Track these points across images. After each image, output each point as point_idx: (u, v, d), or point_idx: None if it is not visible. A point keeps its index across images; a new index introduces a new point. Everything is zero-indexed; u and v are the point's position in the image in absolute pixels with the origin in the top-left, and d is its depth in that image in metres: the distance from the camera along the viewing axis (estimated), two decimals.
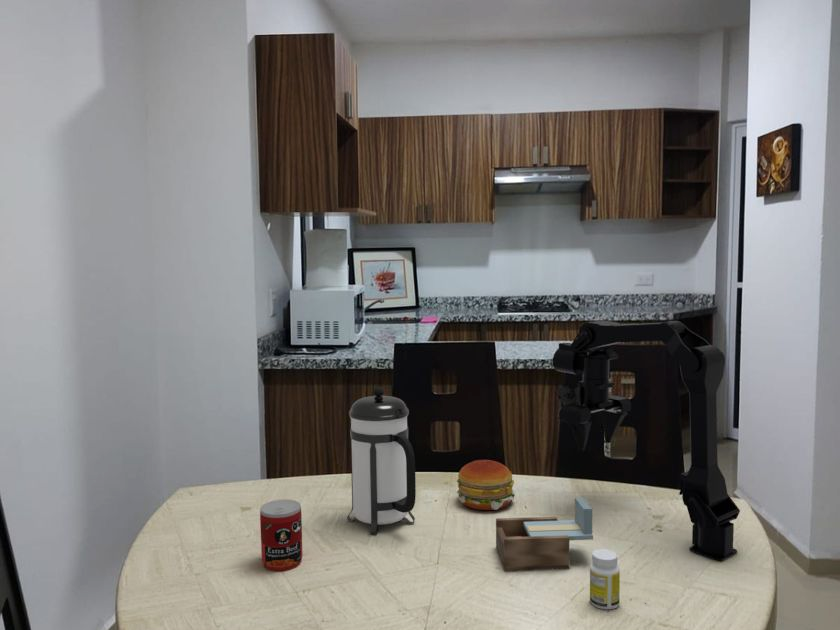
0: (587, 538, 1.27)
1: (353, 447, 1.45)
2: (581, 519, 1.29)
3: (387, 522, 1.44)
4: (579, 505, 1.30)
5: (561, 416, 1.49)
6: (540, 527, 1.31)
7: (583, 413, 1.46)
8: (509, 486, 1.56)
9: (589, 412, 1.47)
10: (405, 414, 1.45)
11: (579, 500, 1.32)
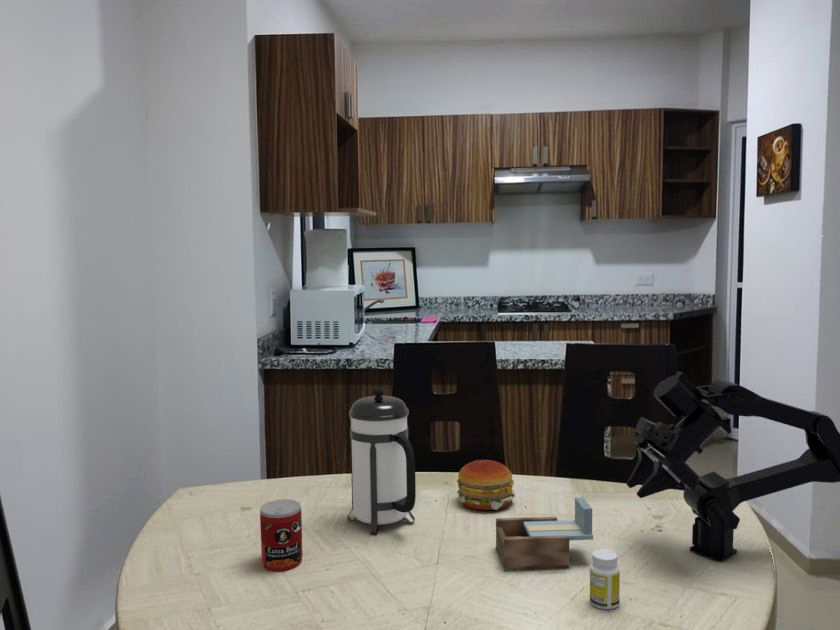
0: (587, 538, 1.27)
1: (353, 447, 1.45)
2: (581, 519, 1.29)
3: (387, 522, 1.44)
4: (579, 505, 1.30)
5: (676, 471, 1.21)
6: (540, 527, 1.31)
7: None
8: (509, 486, 1.56)
9: None
10: (405, 414, 1.45)
11: (579, 500, 1.32)
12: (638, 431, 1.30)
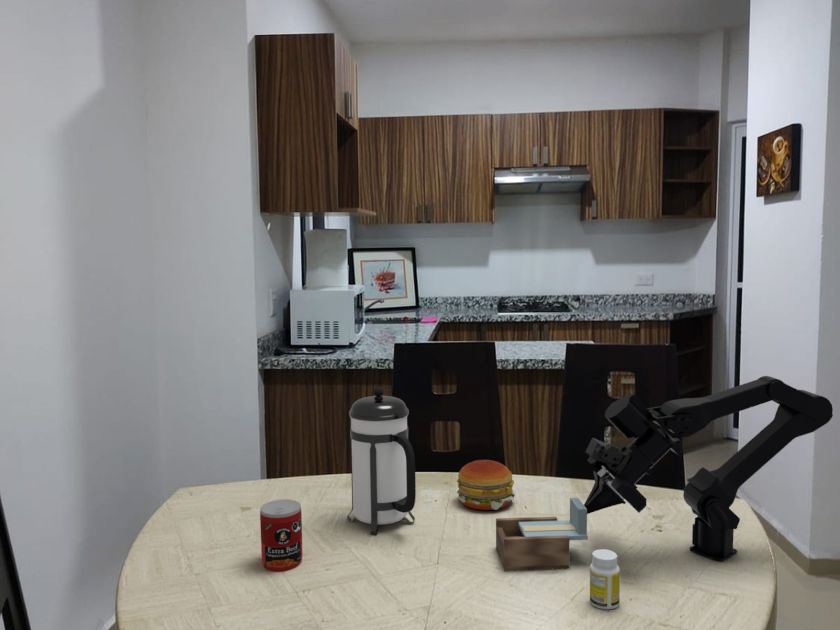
0: (582, 538, 1.27)
1: (353, 447, 1.45)
2: (576, 519, 1.29)
3: (387, 522, 1.44)
4: (574, 505, 1.30)
5: (624, 493, 1.21)
6: (535, 527, 1.31)
7: None
8: (509, 486, 1.56)
9: None
10: (405, 414, 1.45)
11: (574, 500, 1.32)
12: (589, 452, 1.29)
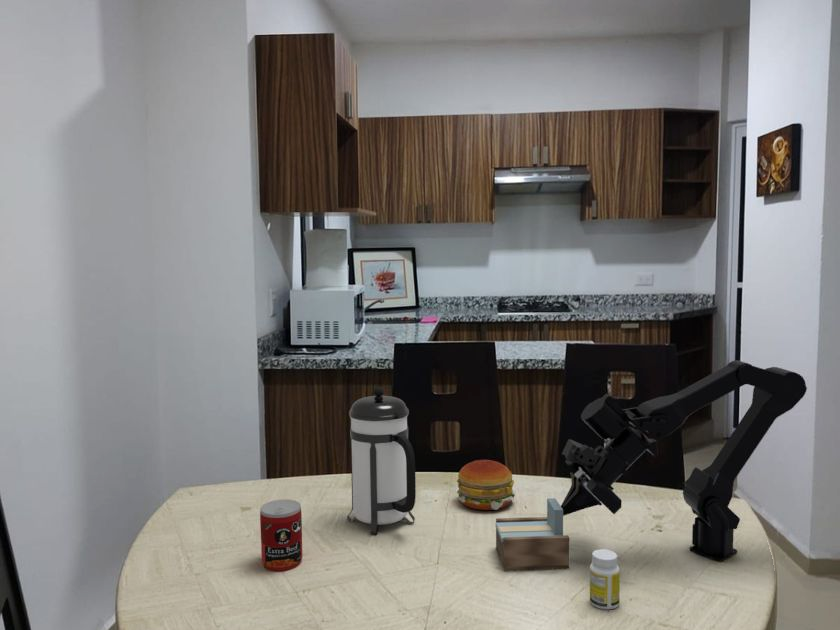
0: None
1: (353, 447, 1.45)
2: (552, 520, 1.29)
3: (387, 522, 1.44)
4: (550, 506, 1.30)
5: (598, 495, 1.21)
6: (512, 528, 1.30)
7: None
8: (509, 486, 1.56)
9: None
10: (405, 414, 1.45)
11: (551, 501, 1.32)
12: (565, 453, 1.29)
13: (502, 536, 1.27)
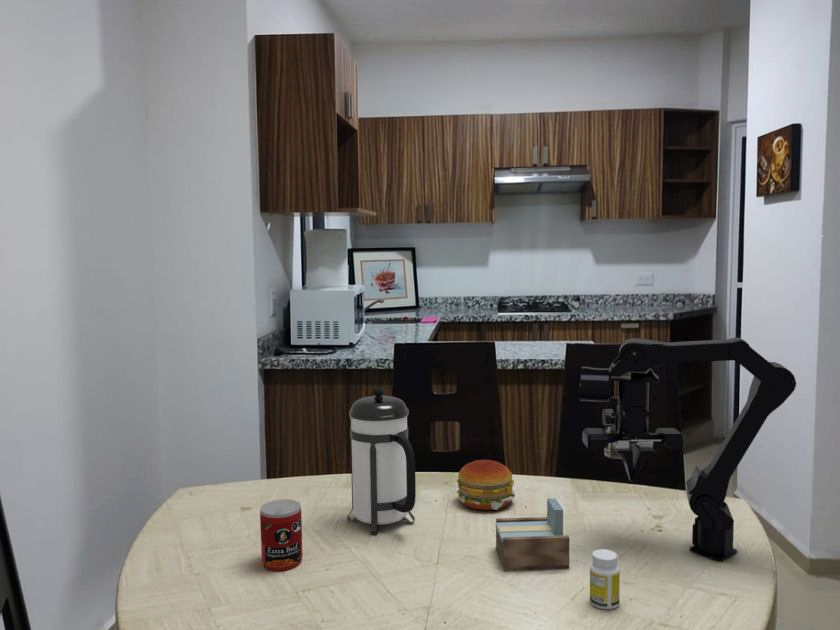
0: None
1: (353, 447, 1.45)
2: (552, 520, 1.29)
3: (387, 522, 1.44)
4: (550, 506, 1.30)
5: (583, 439, 1.37)
6: (512, 528, 1.30)
7: (596, 439, 1.32)
8: (509, 486, 1.56)
9: (606, 439, 1.32)
10: (405, 414, 1.45)
11: (551, 501, 1.32)
12: None
13: (502, 536, 1.27)
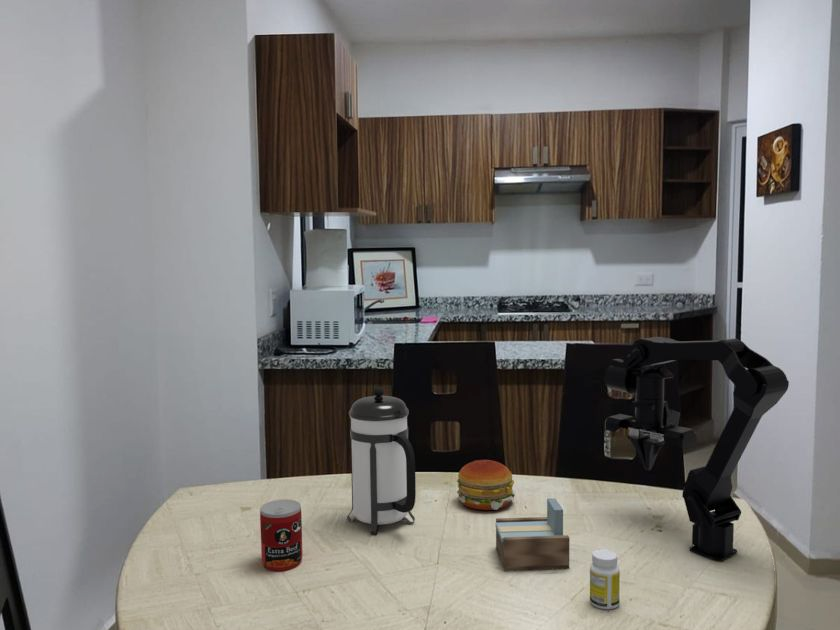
0: None
1: (353, 447, 1.45)
2: (552, 520, 1.29)
3: (387, 522, 1.44)
4: (550, 506, 1.30)
5: None
6: (512, 528, 1.30)
7: (609, 422, 1.49)
8: (509, 486, 1.56)
9: (616, 424, 1.47)
10: (405, 414, 1.45)
11: (551, 501, 1.32)
12: None
13: (502, 536, 1.27)
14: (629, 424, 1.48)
